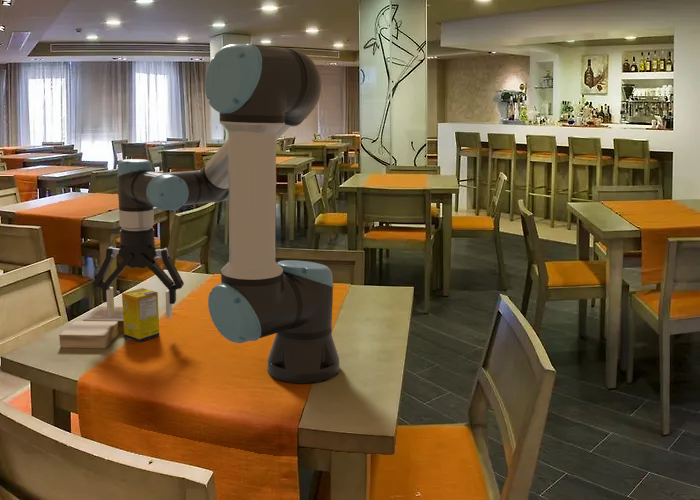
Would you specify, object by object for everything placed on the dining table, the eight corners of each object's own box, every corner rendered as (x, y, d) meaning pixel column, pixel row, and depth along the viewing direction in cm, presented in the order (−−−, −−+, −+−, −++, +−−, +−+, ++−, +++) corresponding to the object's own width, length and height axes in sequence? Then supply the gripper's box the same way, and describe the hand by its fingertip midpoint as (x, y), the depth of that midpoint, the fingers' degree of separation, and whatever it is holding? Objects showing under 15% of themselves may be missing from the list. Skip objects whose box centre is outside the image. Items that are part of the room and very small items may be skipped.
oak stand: (105, 348, 151) (104, 335, 151) (60, 347, 151) (59, 334, 150) (118, 333, 161) (118, 321, 160) (76, 332, 161) (75, 320, 160)
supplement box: (144, 330, 163) (142, 287, 161) (160, 336, 160) (158, 291, 158) (123, 337, 158) (121, 292, 156) (139, 342, 155) (137, 297, 153)
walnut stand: (129, 332, 161) (129, 320, 161) (83, 332, 161) (82, 320, 160) (142, 318, 172) (141, 307, 172) (99, 317, 172) (98, 306, 171)
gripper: (195, 226, 158) (196, 312, 162) (87, 222, 157) (92, 309, 162) (188, 232, 150) (190, 322, 155) (75, 229, 149) (80, 319, 154)
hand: (140, 316), depth 158 cm, fingers open, 13 cm apart
